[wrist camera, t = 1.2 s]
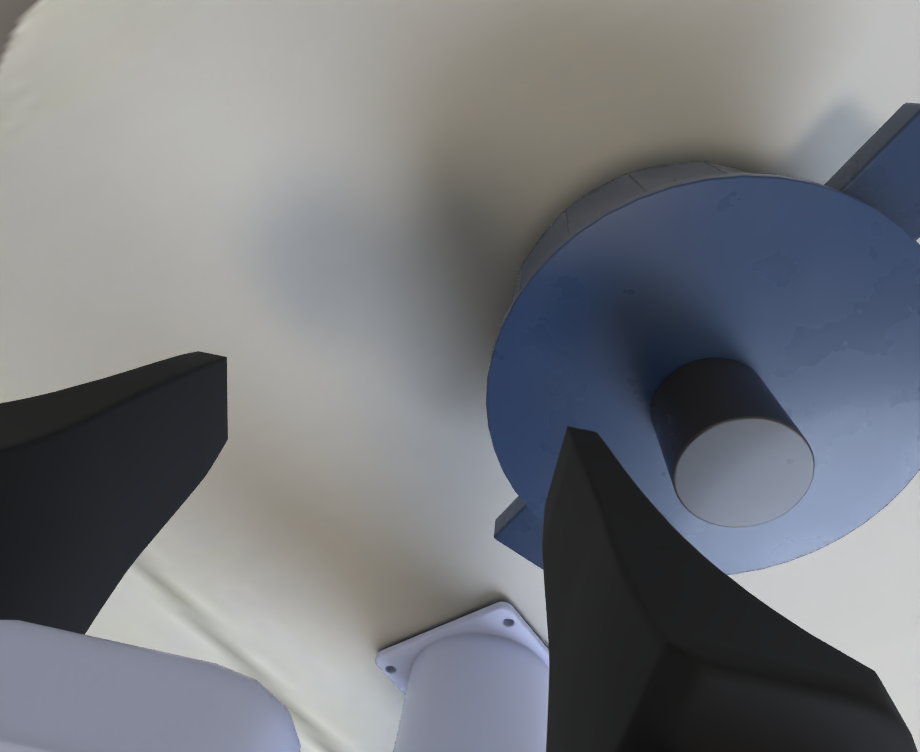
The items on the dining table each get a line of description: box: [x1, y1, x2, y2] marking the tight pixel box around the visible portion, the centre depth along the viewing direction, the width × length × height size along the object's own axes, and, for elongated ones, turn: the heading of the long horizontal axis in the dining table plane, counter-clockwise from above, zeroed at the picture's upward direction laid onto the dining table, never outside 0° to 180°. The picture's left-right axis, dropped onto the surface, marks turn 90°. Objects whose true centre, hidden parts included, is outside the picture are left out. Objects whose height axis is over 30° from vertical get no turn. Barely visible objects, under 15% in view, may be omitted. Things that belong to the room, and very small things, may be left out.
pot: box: [494, 103, 920, 570], centre depth 19 cm, size 11×17×5 cm
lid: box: [486, 173, 920, 575], centre depth 15 cm, size 12×12×4 cm
